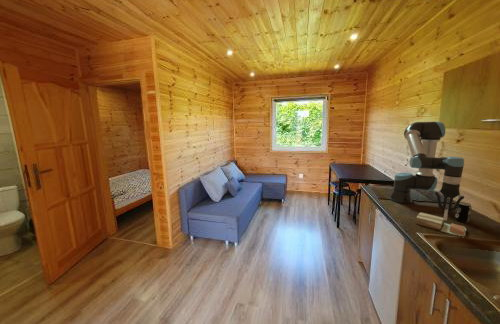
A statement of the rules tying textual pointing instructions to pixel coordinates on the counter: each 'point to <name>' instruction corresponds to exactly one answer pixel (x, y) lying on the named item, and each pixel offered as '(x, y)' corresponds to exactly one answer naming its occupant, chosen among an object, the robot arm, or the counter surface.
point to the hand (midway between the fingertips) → (445, 219)
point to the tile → (457, 229)
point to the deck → (429, 220)
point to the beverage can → (463, 212)
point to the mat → (446, 229)
